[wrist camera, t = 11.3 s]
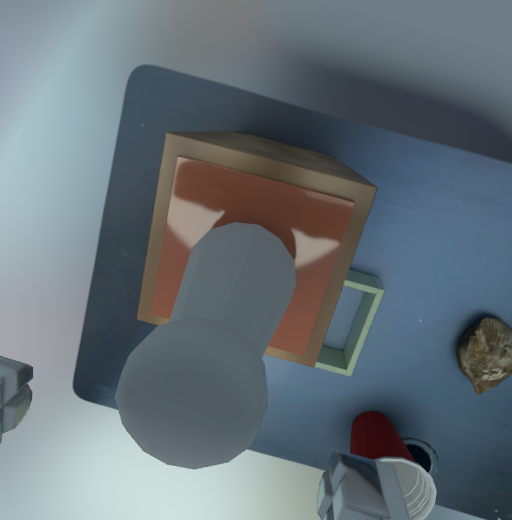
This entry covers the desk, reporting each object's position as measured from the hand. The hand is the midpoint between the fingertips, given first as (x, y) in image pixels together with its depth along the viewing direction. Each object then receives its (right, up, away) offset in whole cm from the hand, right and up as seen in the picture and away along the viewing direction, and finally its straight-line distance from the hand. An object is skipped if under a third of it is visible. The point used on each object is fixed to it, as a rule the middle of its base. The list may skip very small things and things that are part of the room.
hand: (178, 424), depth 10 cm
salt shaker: (+2, +4, +12) cm, 13 cm away
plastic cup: (+19, -20, +47) cm, 55 cm away
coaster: (+1, +4, +13) cm, 14 cm away
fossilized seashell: (+32, -7, +41) cm, 53 cm away
